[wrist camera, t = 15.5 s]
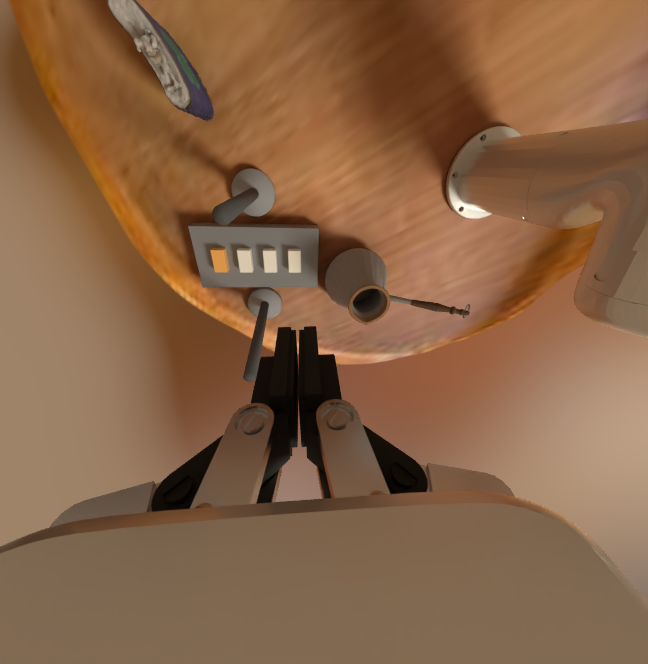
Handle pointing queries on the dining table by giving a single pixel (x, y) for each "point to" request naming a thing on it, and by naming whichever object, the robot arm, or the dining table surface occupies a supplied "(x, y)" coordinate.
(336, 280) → the coffee pot
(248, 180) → the post
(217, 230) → the breaker strip
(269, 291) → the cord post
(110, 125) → the dining table surface
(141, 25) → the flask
